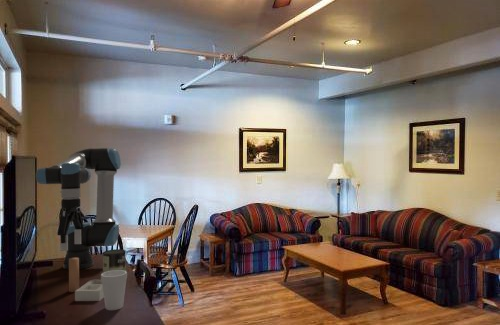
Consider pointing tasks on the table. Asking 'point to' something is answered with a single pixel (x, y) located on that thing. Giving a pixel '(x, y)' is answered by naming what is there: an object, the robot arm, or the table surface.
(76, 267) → the pin
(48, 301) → the table surface
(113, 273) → the foam cup
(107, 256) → the coffee can
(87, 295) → the bore block
